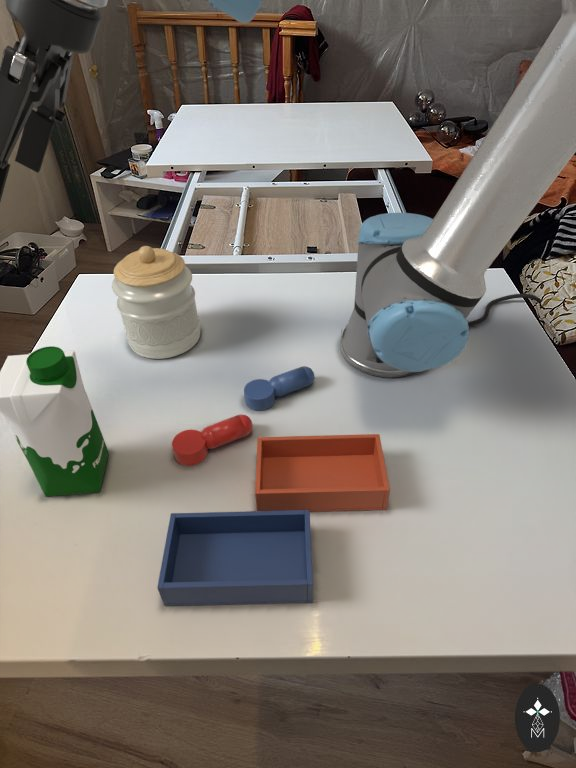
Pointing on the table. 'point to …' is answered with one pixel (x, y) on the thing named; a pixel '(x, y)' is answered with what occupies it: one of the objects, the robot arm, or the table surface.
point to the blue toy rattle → (276, 387)
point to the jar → (156, 303)
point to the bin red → (321, 473)
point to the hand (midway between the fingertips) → (5, 188)
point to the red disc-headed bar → (208, 439)
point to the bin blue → (237, 558)
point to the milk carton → (53, 421)
